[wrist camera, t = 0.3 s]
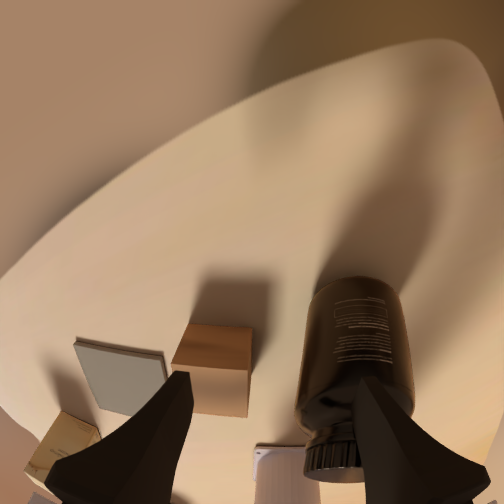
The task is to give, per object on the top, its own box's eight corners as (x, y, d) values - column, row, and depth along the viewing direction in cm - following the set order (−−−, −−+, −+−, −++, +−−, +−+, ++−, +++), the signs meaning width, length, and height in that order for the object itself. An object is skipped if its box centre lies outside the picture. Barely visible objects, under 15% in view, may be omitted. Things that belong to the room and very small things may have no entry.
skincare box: (97, 426, 30) (63, 495, 18) (103, 442, 31) (73, 506, 20) (59, 409, 29) (21, 470, 18) (66, 426, 31) (33, 484, 20)
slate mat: (177, 421, 27) (176, 425, 26) (101, 404, 27) (99, 408, 27) (162, 356, 24) (160, 360, 23) (75, 341, 24) (73, 344, 24)
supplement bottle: (291, 316, 22) (256, 472, 12) (345, 254, 18) (339, 451, 8) (361, 349, 22) (353, 490, 13) (419, 299, 18) (444, 464, 9)
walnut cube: (251, 373, 24) (247, 417, 19) (194, 369, 24) (181, 410, 19) (252, 327, 22) (247, 370, 18) (188, 322, 22) (170, 363, 18)
